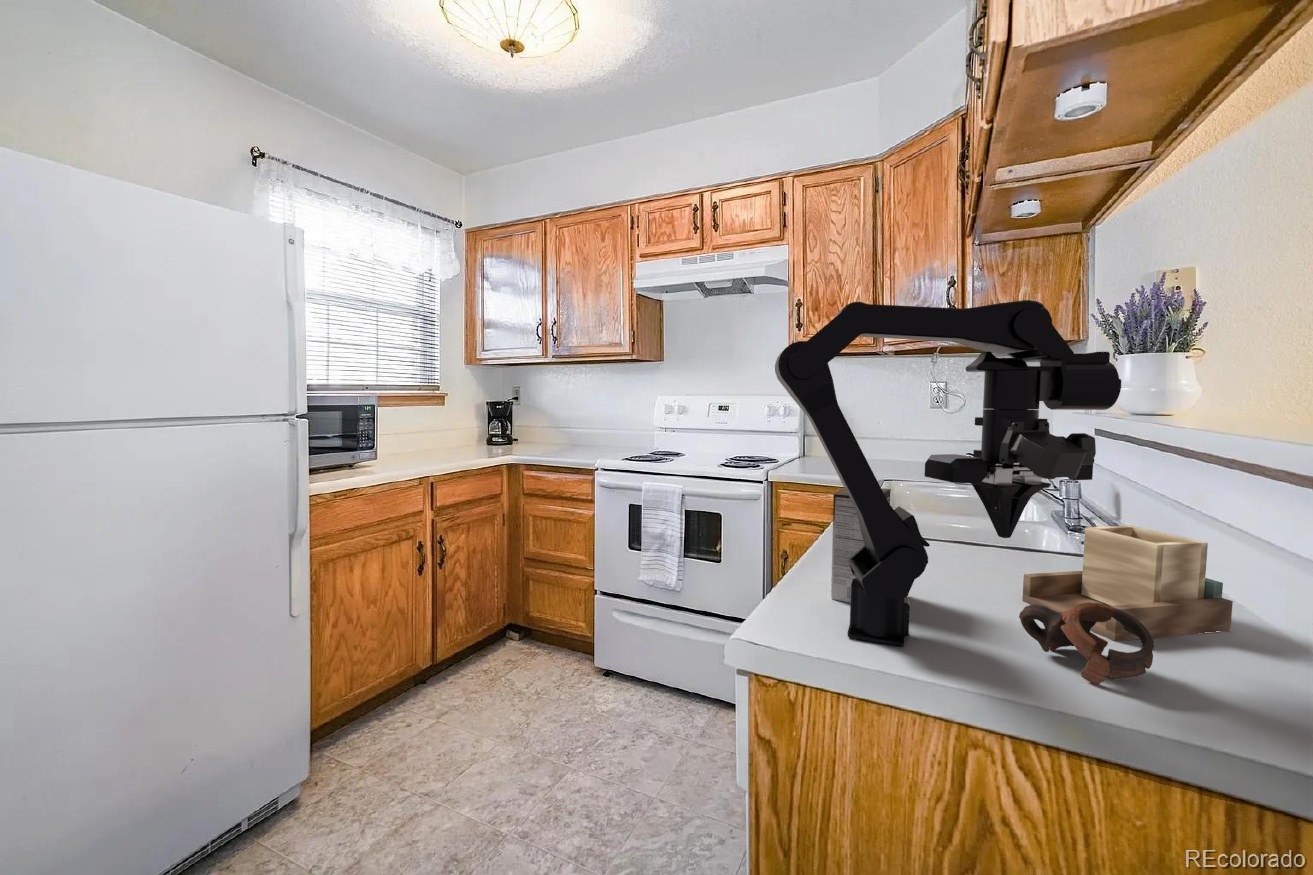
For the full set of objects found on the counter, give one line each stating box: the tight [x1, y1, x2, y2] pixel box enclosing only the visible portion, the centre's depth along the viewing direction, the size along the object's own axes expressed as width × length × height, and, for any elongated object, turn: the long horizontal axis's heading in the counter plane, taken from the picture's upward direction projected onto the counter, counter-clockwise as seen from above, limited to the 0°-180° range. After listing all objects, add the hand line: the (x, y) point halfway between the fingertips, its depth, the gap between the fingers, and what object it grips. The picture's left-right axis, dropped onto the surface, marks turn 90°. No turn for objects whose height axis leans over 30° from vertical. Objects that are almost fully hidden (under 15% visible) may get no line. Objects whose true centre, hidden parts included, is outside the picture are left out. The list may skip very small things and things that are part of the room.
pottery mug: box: [1018, 602, 1155, 686], centre depth 63 cm, size 12×10×8 cm
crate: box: [1081, 525, 1209, 606], centre depth 78 cm, size 8×10×10 cm
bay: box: [1022, 570, 1234, 642], centre depth 78 cm, size 18×14×6 cm
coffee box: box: [830, 488, 891, 603], centre depth 85 cm, size 9×6×16 cm
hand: (1004, 537), depth 68 cm, fingers closed
